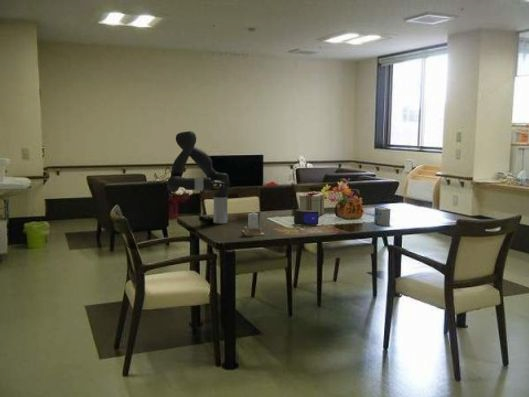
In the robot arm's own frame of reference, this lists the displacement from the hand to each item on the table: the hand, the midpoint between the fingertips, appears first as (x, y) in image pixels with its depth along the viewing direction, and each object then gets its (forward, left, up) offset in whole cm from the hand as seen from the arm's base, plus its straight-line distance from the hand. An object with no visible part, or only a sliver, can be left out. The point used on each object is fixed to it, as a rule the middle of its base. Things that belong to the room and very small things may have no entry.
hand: (229, 183), depth 314 cm
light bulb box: (-18, +107, -30) cm, 113 cm away
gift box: (-62, +70, -30) cm, 98 cm away
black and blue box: (-23, +55, -30) cm, 67 cm away
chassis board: (+2, +14, -30) cm, 33 cm away
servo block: (+2, +14, -29) cm, 32 cm away
